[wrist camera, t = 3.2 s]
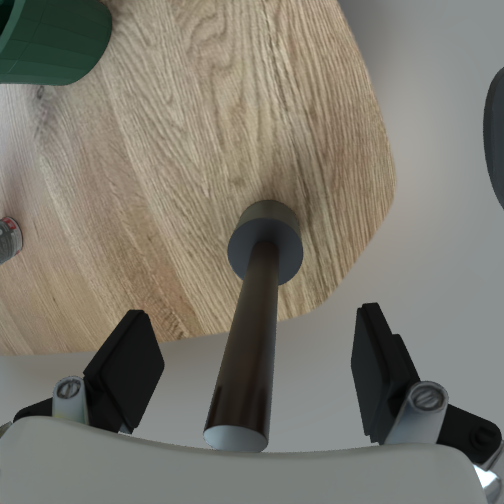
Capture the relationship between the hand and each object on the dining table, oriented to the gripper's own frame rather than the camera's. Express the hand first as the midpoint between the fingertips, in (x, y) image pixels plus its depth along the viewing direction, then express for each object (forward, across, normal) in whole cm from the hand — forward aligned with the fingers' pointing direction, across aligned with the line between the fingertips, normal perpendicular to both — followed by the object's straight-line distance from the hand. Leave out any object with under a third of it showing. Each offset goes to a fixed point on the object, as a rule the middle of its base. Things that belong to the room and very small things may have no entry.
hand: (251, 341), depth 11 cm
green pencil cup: (+13, +16, -20) cm, 29 cm away
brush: (+13, 0, 0) cm, 13 cm away
